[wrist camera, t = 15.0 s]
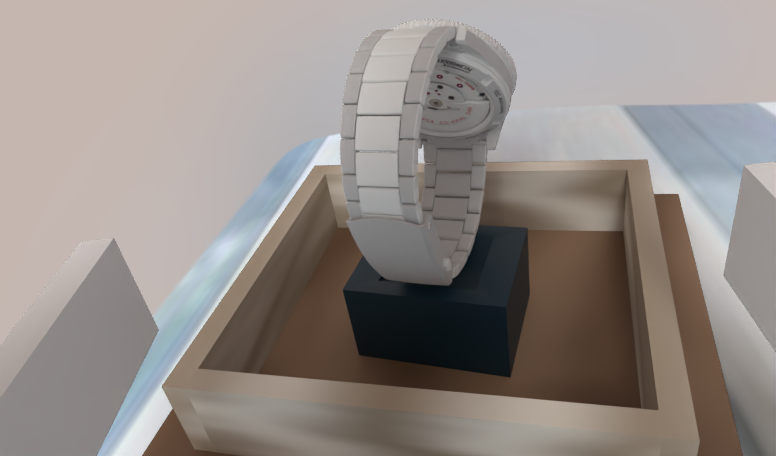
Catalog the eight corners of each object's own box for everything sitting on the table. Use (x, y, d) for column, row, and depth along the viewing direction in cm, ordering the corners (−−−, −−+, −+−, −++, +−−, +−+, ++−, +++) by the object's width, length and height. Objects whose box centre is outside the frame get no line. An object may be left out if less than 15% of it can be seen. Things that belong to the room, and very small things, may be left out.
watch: (537, 263, 25) (529, -15, 19) (500, 419, 19) (473, 83, 13) (408, 253, 27) (365, -2, 21) (338, 391, 21) (249, 89, 15)
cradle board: (675, 216, 28) (685, 134, 26) (773, 644, 14) (813, 546, 12) (316, 213, 34) (298, 145, 31) (126, 525, 19) (67, 441, 17)
